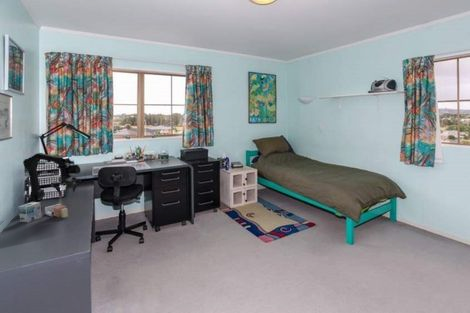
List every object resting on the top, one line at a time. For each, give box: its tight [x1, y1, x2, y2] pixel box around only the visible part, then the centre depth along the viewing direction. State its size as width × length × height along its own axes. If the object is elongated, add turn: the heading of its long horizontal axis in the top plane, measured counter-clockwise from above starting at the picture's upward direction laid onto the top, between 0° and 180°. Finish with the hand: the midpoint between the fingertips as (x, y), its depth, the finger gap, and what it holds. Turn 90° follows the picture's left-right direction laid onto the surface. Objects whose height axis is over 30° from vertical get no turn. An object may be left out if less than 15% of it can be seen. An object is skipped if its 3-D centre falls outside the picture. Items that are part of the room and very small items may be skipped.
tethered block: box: [53, 204, 69, 219], centre depth 189 cm, size 11×6×6 cm, turn 56°
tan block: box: [44, 203, 62, 217], centre depth 195 cm, size 7×10×5 cm
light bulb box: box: [18, 201, 43, 223], centre depth 183 cm, size 11×7×11 cm, turn 168°
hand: (67, 193), depth 200 cm, fingers open, 9 cm apart
